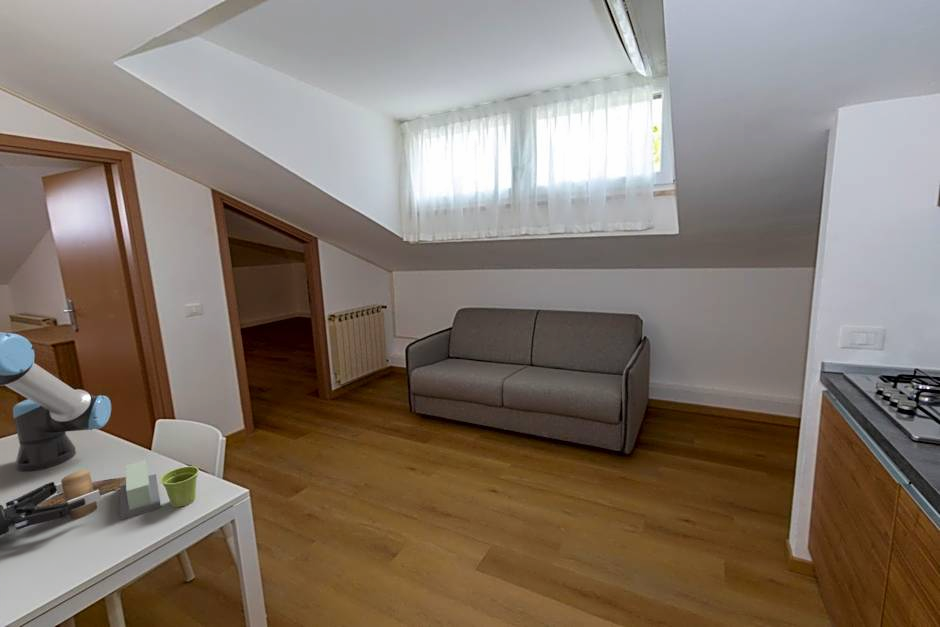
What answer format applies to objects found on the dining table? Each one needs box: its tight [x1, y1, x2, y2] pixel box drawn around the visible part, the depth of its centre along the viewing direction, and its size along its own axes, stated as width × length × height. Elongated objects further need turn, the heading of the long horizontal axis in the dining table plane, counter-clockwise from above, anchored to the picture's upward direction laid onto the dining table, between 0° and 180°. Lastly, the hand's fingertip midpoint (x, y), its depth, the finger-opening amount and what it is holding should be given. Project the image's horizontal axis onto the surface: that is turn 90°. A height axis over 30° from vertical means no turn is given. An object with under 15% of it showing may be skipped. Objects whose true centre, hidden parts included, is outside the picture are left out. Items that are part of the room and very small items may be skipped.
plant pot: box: [160, 465, 200, 508], centre depth 126 cm, size 9×9×9 cm
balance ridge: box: [119, 459, 162, 521], centre depth 129 cm, size 20×9×8 cm, turn 39°
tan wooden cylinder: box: [60, 470, 98, 519], centre depth 122 cm, size 6×6×11 cm
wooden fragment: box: [37, 476, 126, 507], centre depth 133 cm, size 26×11×1 cm, turn 128°
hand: (92, 486), depth 124 cm, fingers open, 13 cm apart
